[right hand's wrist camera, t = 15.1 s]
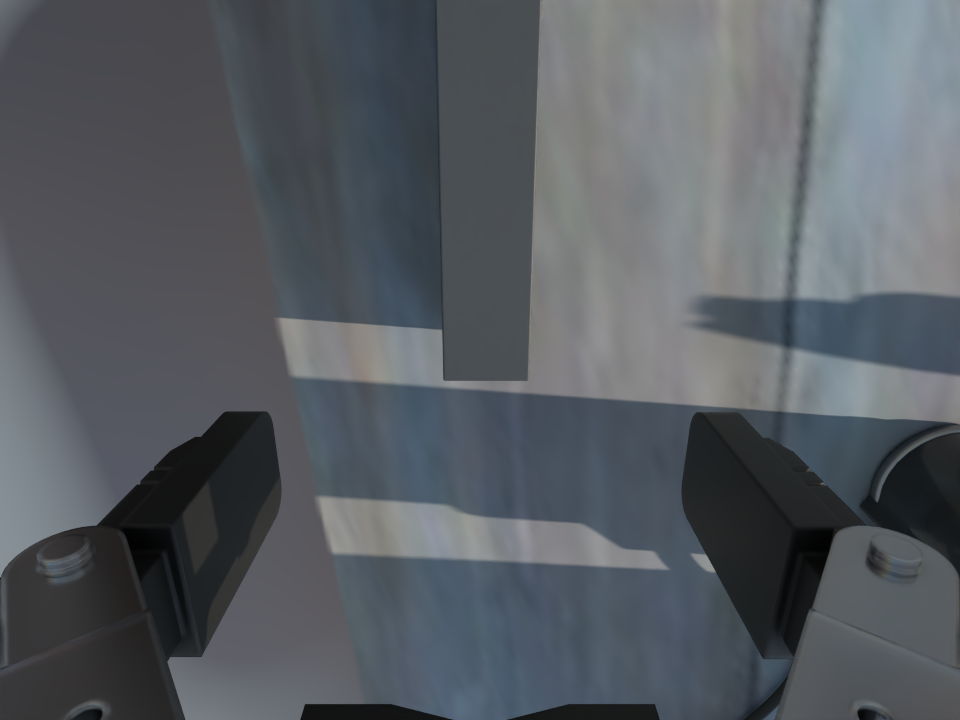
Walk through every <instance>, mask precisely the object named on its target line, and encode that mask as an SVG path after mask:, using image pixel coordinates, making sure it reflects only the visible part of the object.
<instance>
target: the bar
mask: <svg viewBox="0 0 960 720" xmlns="http://www.w3.org/2000/svg"><path fill="white" fill-rule="evenodd" d="M541 9H542V0H435V19H436V64H437V109H438V155H439V200H440V245H441V290H442V335H443V379H444V380H445V381H528V380H529V363H530V334H531V304H532V275H533V245H534V216H535V186H536V156H537V127H538V97H539V68H540V38H541Z"/></svg>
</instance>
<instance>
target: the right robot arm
mask: <svg viewBox="0 0 960 720" xmlns="http://www.w3.org/2000/svg"><path fill="white" fill-rule="evenodd" d="M280 502H281V479H280V472H279V465H278V458H277V450H276V443H275V436H274V429H273V423H272V419H271V417H270V415H269V414H268V412H224V413H223V414H222V415H221V416H220V417H219V418H218V419H217V420H216V421H215V422H214V424H213V425H212V426H211V427H210V428H209V429H208V430H207V431H206V432H205V433H204V434H203V435H202V436H201V437H194V438H193V439H191V440H189V441H187V442H185V443H184V444H182V445H180V446H178V447H177V448H175V449H173V450H171V451H170V452H169V453H168V454H167V455H166V456H165V457H164V458H163V459H162V460H161V461H160V462H159V463H158V464H157V465H156V466H155V467H154V471H150V472H149V473H148V474H147V475H146V476H145V477H144V478H143V479H142V480H141V483H140V485H136V486H135V487H134V488H133V489H132V490H131V491H130V492H129V493H128V494H127V495H126V496H125V497H124V498H123V499H122V500H121V501H120V502H119V503H118V504H117V505H116V506H115V507H114V508H113V509H112V511H111V512H110V513H109V514H108V515H107V516H106V517H105V518H104V519H103V520H102V521H101V522H100V523H99V524H98V525H97V526H87V527H81V528H76V529H71V530H68V531H64V532H61V533H58V534H55V535H52V536H50V537H48V538H46V539H43V540H41V541H39V542H37V543H35V544H34V545H32V546H30V547H29V548H27V549H25V550H24V551H23V552H21V553H20V554H19V555H17V556H16V557H15V558H14V559H13V560H12V561H11V562H10V563H9V564H8V565H7V567H6V568H5V569H4V571H3V573H2V576H1V577H0V720H185V717H184V714H183V711H182V708H181V704H180V701H179V698H178V695H177V692H176V688H175V685H174V682H173V679H172V676H171V673H170V669H169V666H168V663H167V661H168V660H169V658H170V657H201V656H202V655H203V653H204V651H205V649H206V647H207V645H208V644H209V642H210V640H211V638H212V636H213V634H214V632H215V630H216V629H217V627H218V625H219V623H220V621H221V619H222V617H223V616H224V614H225V612H226V610H227V608H228V606H229V604H230V603H231V601H232V599H233V597H234V595H235V593H236V591H237V589H238V587H239V586H240V584H241V582H242V580H243V578H244V576H245V574H246V573H247V571H248V569H249V567H250V565H251V563H252V561H253V560H254V558H255V556H256V554H257V552H258V550H259V548H260V546H261V545H262V543H263V541H264V539H265V537H266V535H267V533H268V532H269V530H270V528H271V526H272V524H273V522H274V520H275V519H276V516H277V514H278V511H279V507H280ZM682 503H683V508H684V512H685V515H686V517H687V520H688V521H689V523H690V525H691V527H692V529H693V531H694V532H695V534H696V536H697V538H698V540H699V542H700V543H701V545H702V547H703V549H704V551H705V553H706V555H707V556H708V558H709V560H710V562H711V564H712V566H713V567H714V569H715V571H716V573H717V575H718V577H719V578H720V580H721V582H722V584H723V586H724V588H725V589H726V591H727V593H728V595H729V597H730V599H731V601H732V602H733V604H734V606H735V608H736V610H737V612H738V613H739V615H740V617H741V619H742V621H743V623H744V624H745V626H746V628H747V630H748V632H749V634H750V636H751V637H752V639H753V641H754V643H755V645H756V647H757V648H758V650H759V652H760V654H761V656H762V658H763V659H794V660H793V663H792V666H791V669H790V672H789V675H788V676H787V678H786V679H785V681H784V682H783V683H782V684H781V685H780V687H779V688H778V689H777V690H776V691H775V692H774V693H773V694H772V695H771V696H770V697H769V698H768V699H767V700H766V701H765V702H764V703H763V704H762V705H761V706H760V707H759V708H757V709H756V710H755V711H754V712H753V713H752V714H750V715H749V716H748V717H747V718H746V719H745V720H763V719H764V718H765V717H766V716H767V715H768V714H770V713H771V712H772V711H773V710H774V709H775V708H776V707H777V706H778V705H779V708H778V711H777V714H776V717H775V720H960V425H948V426H942V427H937V428H934V429H930V430H927V431H925V432H922V433H920V434H918V435H916V436H914V437H912V438H911V439H909V440H907V441H906V442H904V443H903V444H901V445H900V446H899V447H898V448H896V449H895V450H894V451H893V452H892V453H891V454H890V455H889V456H888V457H887V458H886V460H885V461H884V462H883V464H882V465H881V466H880V468H879V470H878V471H877V473H876V475H875V478H874V480H873V483H872V487H871V493H870V496H869V497H868V498H867V500H866V501H864V502H863V503H862V504H861V505H860V508H861V510H862V511H864V512H865V513H866V514H867V515H868V516H869V517H870V518H871V519H872V520H873V521H874V522H875V523H876V524H877V525H878V526H879V527H873V526H867V525H866V524H865V523H864V522H863V521H862V520H861V519H860V518H859V517H858V516H857V515H856V514H855V513H854V512H853V511H852V510H851V509H850V508H849V507H848V506H847V505H846V504H845V503H844V502H843V501H842V500H841V499H840V498H839V497H838V496H837V495H836V494H835V493H834V492H833V491H832V490H831V489H830V488H829V487H828V486H824V482H823V481H822V480H821V479H820V478H819V477H818V476H817V475H816V474H815V473H814V472H810V468H809V467H808V466H807V465H806V464H805V463H804V462H803V461H802V460H801V459H800V458H799V457H798V456H797V455H796V454H795V453H794V452H793V451H791V450H789V449H787V448H785V447H784V446H782V445H780V444H778V443H776V442H775V441H773V440H771V439H769V438H762V437H761V435H760V434H759V433H758V432H757V431H756V430H755V429H754V428H753V427H752V426H751V425H750V424H749V423H748V422H747V421H746V420H745V418H744V417H743V416H742V415H741V414H739V413H737V412H697V413H696V414H695V415H694V416H693V418H692V421H691V425H690V431H689V438H688V445H687V452H686V459H685V466H684V473H683V480H682ZM300 720H452V719H448V718H444V717H440V716H436V715H432V714H428V713H424V712H420V711H416V710H412V709H408V708H404V707H400V706H396V705H392V704H305V706H304V710H303V713H302V716H301V719H300ZM508 720H660V719H659V716H658V713H657V710H656V706H655V704H568V705H564V706H560V707H556V708H552V709H548V710H544V711H540V712H536V713H532V714H528V715H524V716H520V717H516V718H512V719H508Z"/></svg>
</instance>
